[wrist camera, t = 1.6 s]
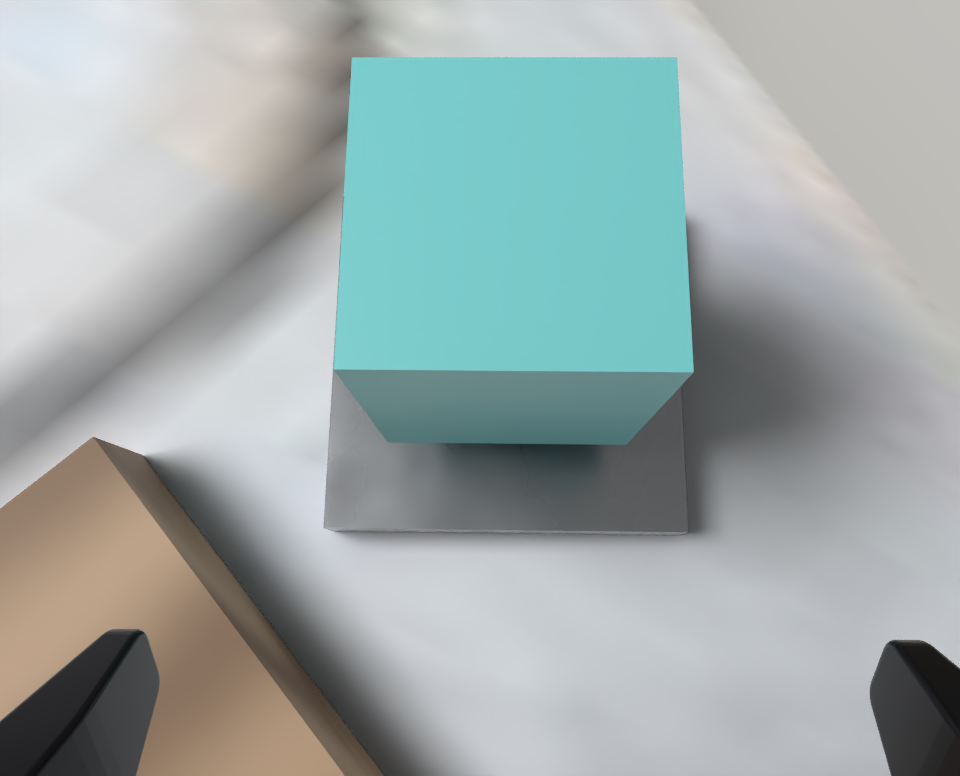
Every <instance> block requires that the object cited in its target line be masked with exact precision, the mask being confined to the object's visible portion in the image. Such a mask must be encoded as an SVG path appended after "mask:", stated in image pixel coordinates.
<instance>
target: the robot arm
mask: <svg viewBox="0 0 960 776" xmlns="http://www.w3.org/2000/svg"><path fill="white" fill-rule="evenodd" d="M159 684H160V678H159V671H158V668H157V665H156V662H155V659H154V655H153V652H152V649H151V646H150V643H149V640H148V637H147V635H146V633H145V632H144V631H142V630H140V629H111V630H109V631H107V632H105V633H103V634H102V635H101V636H100V637H99V638H97V639H96V640H95V641H94V642H93V643H91V644H90V645H89V646H88V647H87V648H86V649H84V650H83V651H82V652H81V653H80V654H78V655H77V656H76V657H75V658H74V659H73V660H71V661H70V662H69V663H68V664H67V665H65V666H64V667H63V668H62V669H61V670H60V671H58V672H57V673H56V674H55V675H54V676H52V677H51V678H50V679H49V680H48V681H47V682H45V683H44V684H43V685H42V686H41V687H39V688H38V689H37V690H36V691H35V692H34V693H32V694H31V695H30V696H29V697H28V698H26V699H25V700H24V701H23V702H22V703H21V704H19V705H18V706H17V707H16V708H15V709H13V710H12V711H11V712H10V713H9V714H8V715H6V716H5V717H4V718H3V719H2V720H0V776H136V774H137V770H138V767H139V763H140V759H141V755H142V752H143V748H144V744H145V741H146V737H147V733H148V729H149V726H150V722H151V718H152V714H153V711H154V707H155V703H156V700H157V696H158V692H159ZM870 700H871V705H872V709H873V713H874V716H875V720H876V723H877V727H878V730H879V734H880V737H881V741H882V744H883V748H884V752H885V755H886V759H887V762H888V766H889V769H890V773H891V776H960V668H958V667H957V666H956V665H955V664H954V663H952V662H951V661H950V660H949V659H948V658H946V657H945V656H944V655H943V654H941V653H940V652H939V651H938V650H937V649H935V648H934V647H933V646H931V645H930V644H928V643H926V642H924V641H920V640H892V641H890V642H888V643H887V644H886V646H885V647H884V650H883V652H882V655H881V658H880V660H879V663H878V666H877V668H876V671H875V674H874V676H873V679H872V681H871V685H870Z"/></svg>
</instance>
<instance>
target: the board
mask: <svg viewBox="0 0 960 776" xmlns="http://www.w3.org/2000/svg"><path fill="white" fill-rule="evenodd" d="M111 629H140V630H142V631H144V632H145V633H146V635H147V637H148V640H149V643H150V646H151V649H152V652H153V655H154V659H155V662H156V665H157V668H158V671H159V678H160V684H159V692H158V696H157V700H156V703H155V707H154V711H153V714H152V718H151V722H150V726H149V729H148V733H147V737H146V741H145V744H144V748H143V752H142V755H141V759H140V763H139V767H138V770H137V774H136V776H384V774H383V773H382V772H381V771H380V769H379V768H378V767H377V765H376V764H375V763H374V761H373V760H372V759H371V757H370V756H369V755H368V753H367V752H366V751H365V749H364V748H363V747H362V745H361V744H360V743H359V741H358V740H357V739H356V737H355V736H354V735H353V733H352V732H351V731H350V729H349V728H348V727H347V725H346V724H345V723H344V722H343V720H342V719H341V718H340V716H339V715H338V714H337V712H336V711H335V710H334V708H333V707H332V706H331V704H330V703H329V702H328V700H327V699H326V698H325V696H324V695H323V694H322V692H321V691H320V690H319V688H318V687H317V686H316V684H315V683H314V682H313V680H312V679H311V678H310V676H309V675H308V674H307V672H306V671H305V670H304V669H303V667H302V666H301V665H300V663H299V662H298V661H297V659H296V658H295V657H294V655H293V654H292V653H291V651H290V650H289V649H288V647H287V646H286V645H285V643H284V642H283V641H282V639H281V638H280V637H279V635H278V634H277V633H276V631H275V630H274V629H273V627H272V626H271V625H270V623H269V622H268V621H267V620H266V618H265V617H264V616H263V614H262V613H261V612H260V610H259V609H258V608H257V606H256V605H255V604H254V602H253V601H252V600H251V598H250V597H249V596H248V594H247V593H246V592H245V590H244V589H243V588H242V586H241V585H240V584H239V582H238V581H237V580H236V578H235V577H234V576H233V574H232V573H231V572H230V571H229V569H228V568H227V567H226V565H225V564H224V563H223V561H222V560H221V559H220V557H219V556H218V555H217V553H216V552H215V551H214V549H213V548H212V547H211V545H210V544H209V543H208V541H207V540H206V539H205V537H204V536H203V535H202V533H201V532H200V531H199V529H198V528H197V527H196V525H195V524H194V523H193V522H192V520H191V519H190V518H189V516H188V515H187V514H186V512H185V511H184V510H183V508H182V507H181V506H180V504H179V503H178V502H177V500H176V499H175V498H174V496H173V495H172V494H171V492H170V491H169V490H168V488H167V487H166V486H165V484H164V483H163V482H162V480H161V479H160V478H159V476H158V475H157V474H156V473H155V471H154V470H153V469H152V467H151V466H150V465H149V463H148V462H147V461H146V459H145V458H144V457H143V455H141V454H138V453H135V452H133V451H130V450H127V449H124V448H122V447H119V446H116V445H114V444H111V443H108V442H105V441H103V440H100V439H97V438H95V437H92V438H91V439H90V440H88V441H87V442H86V443H84V444H83V445H82V446H81V447H79V448H78V449H77V450H75V451H74V452H73V453H72V454H70V455H69V456H68V457H66V458H65V459H64V460H63V461H61V462H60V463H59V464H57V465H56V466H55V467H53V468H52V469H51V470H50V471H48V472H47V473H46V474H44V475H43V476H42V477H41V478H39V479H38V480H37V481H35V482H34V483H33V484H32V485H30V486H29V487H28V488H26V489H25V490H24V491H23V492H21V493H20V494H19V495H17V496H16V497H15V498H14V499H12V500H11V501H10V502H8V503H7V504H6V505H4V506H3V507H2V508H1V509H0V720H2V719H3V718H4V717H5V716H6V715H8V714H9V713H10V712H11V711H12V710H13V709H15V708H16V707H17V706H18V705H19V704H21V703H22V702H23V701H24V700H25V699H26V698H28V697H29V696H30V695H31V694H32V693H34V692H35V691H36V690H37V689H38V688H39V687H41V686H42V685H43V684H44V683H45V682H47V681H48V680H49V679H50V678H51V677H52V676H54V675H55V674H56V673H57V672H58V671H60V670H61V669H62V668H63V667H64V666H65V665H67V664H68V663H69V662H70V661H71V660H73V659H74V658H75V657H76V656H77V655H78V654H80V653H81V652H82V651H83V650H84V649H86V648H87V647H88V646H89V645H90V644H91V643H93V642H94V641H95V640H96V639H97V638H99V637H100V636H101V635H102V634H103V633H105V632H107V631H109V630H111Z"/></svg>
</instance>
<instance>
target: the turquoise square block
mask: <svg viewBox="0 0 960 776" xmlns="http://www.w3.org/2000/svg"><path fill="white" fill-rule="evenodd" d="M334 371H335V372H336V373H337V375H338V376H339V377H340V379H341V380H342V382H343V383H344V384H345V386H346V387H347V388H348V390H349V391H350V392H351V394H352V395H353V396H354V398H355V399H356V400H357V402H358V403H359V404H360V406H361V407H362V408H363V410H364V411H365V412H366V414H367V415H368V416H369V418H370V419H371V420H372V422H373V423H374V424H375V426H376V427H377V428H378V430H379V431H380V432H381V434H382V435H383V436H384V438H385V439H386V440H387V442H391V443H492V444H593V445H626V444H627V443H628V442H629V441H630V440H631V439H632V438H633V437H634V436H635V435H636V434H637V433H638V432H639V430H640V429H641V428H642V427H643V426H644V425H645V424H646V423H647V422H648V421H649V420H650V419H651V418H652V417H653V415H654V414H655V413H656V412H657V411H658V410H659V409H660V408H661V407H662V406H663V405H664V404H665V403H666V402H667V400H668V399H669V398H670V397H671V396H672V395H673V394H674V393H675V392H676V391H677V390H678V389H679V388H680V387H681V386H682V384H683V383H684V382H685V381H686V380H687V379H688V378H689V377H690V376H691V375H692V374H693V373H694V367H693V348H692V329H691V311H690V292H689V273H688V255H687V236H686V217H685V199H684V180H683V161H682V143H681V124H680V105H679V86H678V68H677V58H352V68H351V85H350V102H349V118H348V135H347V152H346V169H345V185H344V202H343V219H342V236H341V252H340V269H339V286H338V303H337V319H336V336H335V353H334Z"/></svg>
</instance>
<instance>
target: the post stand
mask: <svg viewBox="0 0 960 776" xmlns="http://www.w3.org/2000/svg"><path fill="white" fill-rule="evenodd" d="M343 202H344V197H343ZM342 219H343V212H342ZM341 236H342V229H341ZM340 252H341V245H340ZM339 269H340V262H339ZM338 286H339V279H338ZM337 303H338V296H337ZM336 319H337V312H336ZM335 336H336V329H335ZM334 353H335V346H334ZM324 528H325V529H328V530H331V531H390V532H471V533H553V534H635V535H681V534H684V533H688V513H687V493H686V473H685V452H684V432H683V412H682V391H681V387H680V388H679V389H678V390H677V391H676V392H675V393H674V394H673V395H672V396H671V397H670V398H669V399H668V400H667V402H666V403H665V404H664V405H663V406H662V407H661V408H660V409H659V410H658V411H657V412H656V413H655V414H654V415H653V417H652V418H651V419H650V420H649V421H648V422H647V423H646V424H645V425H644V426H643V427H642V428H641V429H640V430H639V432H638V433H637V434H636V435H635V436H634V437H633V438H632V439H631V440H630V441H629V442H628V443H627V444H626V445H593V444H492V443H391V442H387V440H386V439H385V438H384V436H383V435H382V434H381V432H380V431H379V430H378V428H377V427H376V426H375V424H374V423H373V422H372V420H371V419H370V418H369V416H368V415H367V414H366V412H365V411H364V410H363V408H362V407H361V406H360V404H359V403H358V402H357V400H356V399H355V398H354V396H353V395H352V394H351V392H350V391H349V390H348V388H347V387H346V386H345V384H344V383H343V382H342V380H341V379H340V377H339V376H338V375H337V373H336V372H335V371H334V362H333V379H332V396H331V413H330V429H329V446H328V463H327V479H326V496H325V513H324Z"/></svg>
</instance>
